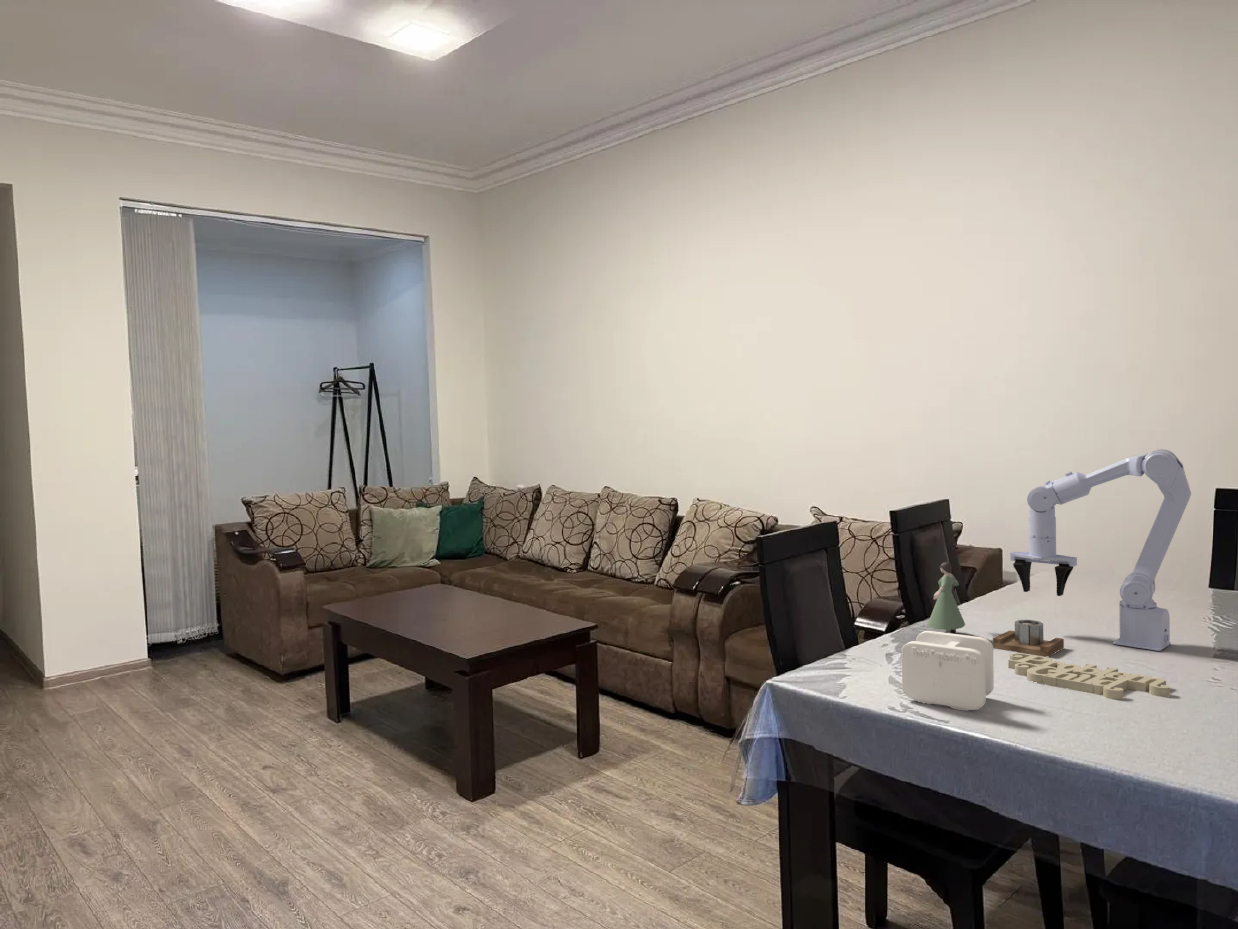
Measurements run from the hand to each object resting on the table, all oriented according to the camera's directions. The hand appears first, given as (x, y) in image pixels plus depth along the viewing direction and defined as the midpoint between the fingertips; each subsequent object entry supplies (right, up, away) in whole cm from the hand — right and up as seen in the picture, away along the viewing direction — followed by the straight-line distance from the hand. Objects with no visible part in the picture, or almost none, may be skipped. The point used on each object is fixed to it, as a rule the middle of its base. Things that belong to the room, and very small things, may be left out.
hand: (1043, 593), depth 207 cm
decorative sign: (-10, -13, -34) cm, 38 cm away
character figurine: (-21, -11, +3) cm, 24 cm away
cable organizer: (-38, -14, -42) cm, 59 cm away
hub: (-8, -10, -10) cm, 16 cm away
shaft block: (-8, -11, -10) cm, 17 cm away
